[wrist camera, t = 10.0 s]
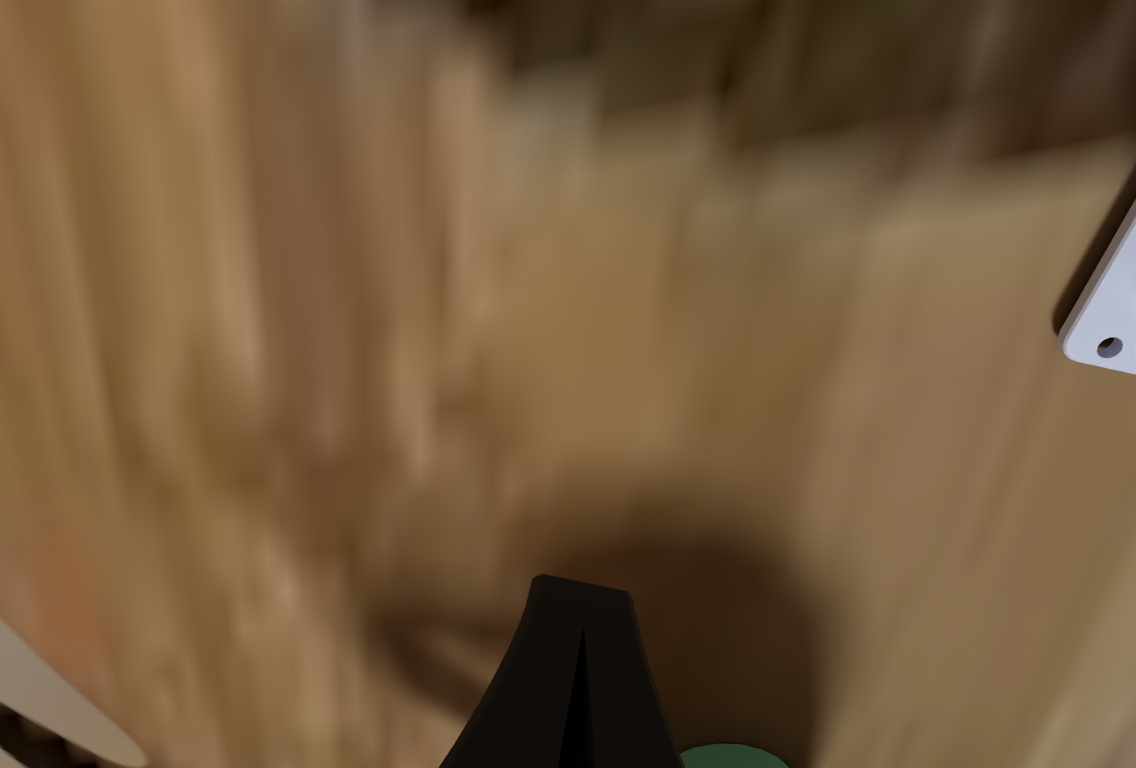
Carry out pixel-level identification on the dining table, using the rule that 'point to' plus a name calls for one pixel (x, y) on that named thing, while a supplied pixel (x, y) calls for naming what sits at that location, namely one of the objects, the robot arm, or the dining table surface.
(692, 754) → the mug
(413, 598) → the dining table surface
